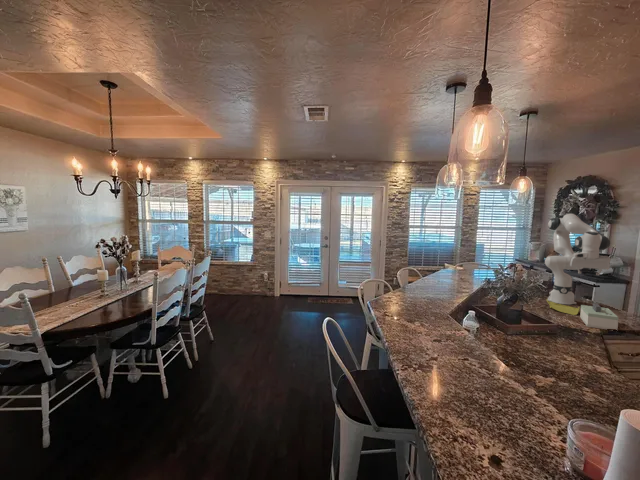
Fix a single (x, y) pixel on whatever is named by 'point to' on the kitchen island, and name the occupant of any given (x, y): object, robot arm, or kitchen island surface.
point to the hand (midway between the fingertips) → (588, 274)
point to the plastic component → (564, 308)
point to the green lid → (599, 312)
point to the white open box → (598, 321)
